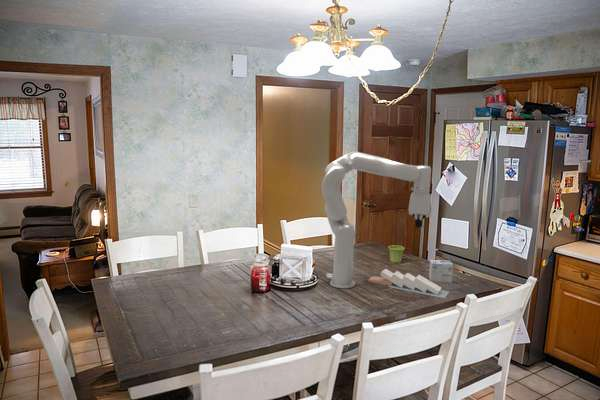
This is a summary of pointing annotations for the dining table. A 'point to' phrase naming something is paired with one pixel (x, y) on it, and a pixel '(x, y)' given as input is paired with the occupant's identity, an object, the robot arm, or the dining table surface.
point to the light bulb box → (440, 271)
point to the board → (440, 294)
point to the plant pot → (396, 253)
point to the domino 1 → (380, 280)
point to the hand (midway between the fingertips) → (418, 227)
